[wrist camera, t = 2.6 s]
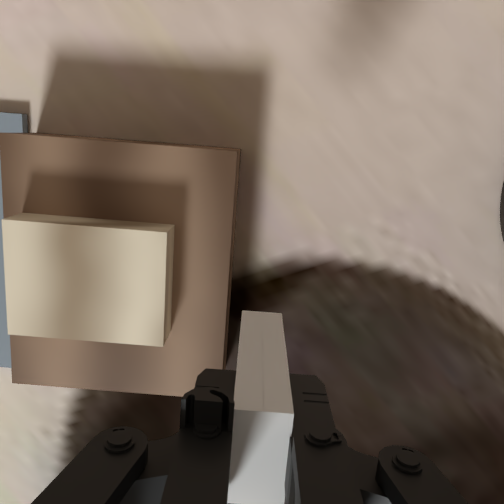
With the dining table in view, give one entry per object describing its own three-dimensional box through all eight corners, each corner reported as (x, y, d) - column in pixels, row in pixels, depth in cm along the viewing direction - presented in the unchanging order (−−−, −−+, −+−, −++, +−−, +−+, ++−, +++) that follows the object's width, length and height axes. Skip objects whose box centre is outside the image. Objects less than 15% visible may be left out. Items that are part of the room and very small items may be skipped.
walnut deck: (240, 149, 27) (237, 151, 24) (225, 366, 31) (220, 399, 27) (36, 132, 27) (-1, 132, 24) (43, 351, 31) (12, 382, 27)
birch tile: (174, 224, 24) (167, 232, 23) (170, 331, 26) (163, 347, 24) (22, 212, 25) (1, 219, 23) (26, 319, 26) (7, 334, 24)
